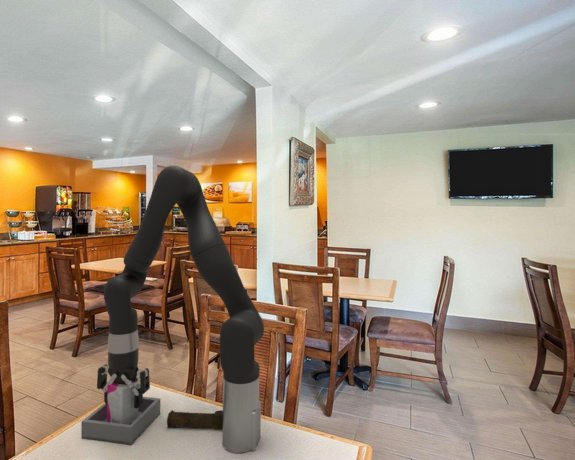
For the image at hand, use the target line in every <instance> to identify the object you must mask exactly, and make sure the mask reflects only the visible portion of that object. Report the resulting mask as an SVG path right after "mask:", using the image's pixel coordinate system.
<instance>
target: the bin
mask: <svg viewBox="0 0 575 460" xmlns="http://www.w3.org/2000/svg"><path fill="white" fill-rule="evenodd" d="M160 415H161V398H160V397H159V398H157V397H152V396H151V397H150V396H149V397H148V396H143V403H142V404H141V405H140V407H138V418H137V419H136V420H135V421H133V422H132V423H131V424H130V425H127V424H119V423H111V422H107V405H106V403H105V402H104V403H103V404H102V405H101V406H99V407H98V408H97V409H95V410H94V411H93V412H92V413H90V414H89V415H88V416H86V417H85V418H84V419H82V420H81V422H80V423H81V424H80V425H81V426H80V427H81V429H80V430H81V431H80V433H81V434H80V435H81V438H80V439H82V440H83V439H84V440H90V441H91V440H92V441H97V442H105V443H106V442H107V443H110V444H111V443H112V444H113V443H114V444H119V445H128V446H132V445H133V444H134V443H135V442H136V441H137V439H139V438H140V436H141V435H142V434H143V433H144V432H145V431H146V430H147V429H148V428H149V427H150V426H151V424H152V423H153V422H154V421H155V420H156V419H157V418H158V416H160Z"/></svg>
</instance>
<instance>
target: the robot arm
mask: <svg viewBox="0 0 575 460" xmlns="http://www.w3.org/2000/svg"><path fill="white" fill-rule="evenodd" d="M157 175H158V176H157V177H156V180H155V183H154V186H153V188H152V191H151V194H150V198H149V200H148V203H147V206H146V209H145V212H144V215H143V217H142V220H141V223H140V224H139V228H138V230H137V232H136V234H135V235H134V237H133V239H132V241H131V243H130V245H129V247H128V248H127V251H126V253H125V255H124V256H123V264H124V267H123V270H122V272H121V273H120V274H119V275H116V276H113V277H110V278H109V279H108V280H107V282H106V283H105V285H104V287H103V298H104V299H103V300H104V303H105V308H106V312H107V314H108V337H107V364H105V363H104V364H103V365H102V366H100V367H98V369H97V375H96V376H97V377H96V378H97V379H96V380H97V381H96V388H97V390H102V392H103V395H104V396H103V398H104V399H103V402H104V403H106V405H107V385H109V384H110V385H111V384H112V383H113V382H114V383H116V384H124V385H127V386H128V387H129V389H131V390H132V391H133V392H134V394H135V395H134V408H138V407H140V405H141V404H142V403H143V397H144V394H146V392H148V391H149V390H150V389H151V383H150V369H149V368H147V367H146V368H144V369H139V367H138V364H139V339H140V338H139V331H138V329H139V327H138V325H139V324H138V323H139V322H138V321H139V320H138V319H139V317H138V311H137V310H136V309H135V308H133V307H132V301H131V299H132V298H134V297H136V296H137V295H138V294H139V293H140V292H141V290H142V288H143V286H144V284H145V282H146V279H147V276H148V273H149V268H150V267H151V266H152V263H153V262H154V260H155V258H156V256H157V255H158V252H159V250H160V248H161V245H162V243H163V239H164V238H163V237H164V234H165V233H164V232H165V228H166V227H165V226H166V222H167V220H168V217H169V215H170V213H171V212H172V210H173V208H174V207H175V206H176V205H177V207H178V209H179V210H180V212H181V214H182V217H183V218H184V220H185V224H186V229H187V238H188V240H187V241H188V247H189V252H190V255H191V258H192V261H193V263H194V264H195V267H196V269H197V271H198V274H199V275H200V277H201V278H202V279H203V281H204V282H205V283H206V284H207V285H208V286H209V287H210V289H212V290H213V291H214V292H215V293H216V294H217V295H218V297H220V299H221V300H222V303H223V304H224V306H225V309H226V312H227V313H228V316H229V317H228V319H226V320H225V321H224V322H223V324H222V326H221V327H220V332H219V360H220V361H219V362H220V369H221V370H222V373H223V374H222V378H223V380H222V383H223V384H222V411H223V430H222V433H221V434H222V435H221V438H222V442H221V443H222V446H223V448H224V449H225V450H226V451H228V452H231V453H235V454H239V453H242V454H243V453H247V452H249V451H252V452H254V451H256V449H257V447H258V445H259V444H258V443H259V441H260V439H261V424H262V423H261V422H262V419H261V418H262V401H261V400H260V373H261V371H260V365H259V363H258V361H256V360H255V345H257V343H258V342H260V341H261V339H262V338H263V336H264V333H265V325H264V321H263V319H262V316H261V315H260V313H259V311H258V309H257V308H256V306H255V305H254V303H253V301H252V299H251V297H250V296H249V294H248V291H247V290H246V289H245V288H246V287H245V286H244V284H243V282H242V279H241V276H240V275H239V272H238V269H237V268H236V265H235V263H234V261H233V258H232V256H231V254H230V251H229V249H228V247H227V245H226V243H225V241H224V239H223V237H222V234H221V233H220V230H219V229H218V226H217V224H216V221H215V220H214V218H213V216H212V214H211V212H210V210H209V206H208V204H207V200H206V198H205V195H204V191H203V188H202V185H201V183H200V180H199V179H198V177H197V176H196V175H195V174H194V173H193V172H191V171H189V170H188V169H185V168H183V167H181V166H178V165H168V166H166V167H164V168H163V169H161V171H160V172H159V173H158V174H157ZM108 375H109V376H110V378H109V379H108ZM133 380H134V381H135V383H134V384H133V383H132V382H133ZM137 388H138V389H137Z"/></svg>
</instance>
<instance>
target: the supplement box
mask: <svg viewBox="0 0 575 460" xmlns="http://www.w3.org/2000/svg"><path fill="white" fill-rule="evenodd" d="M132 383H133V384H134V383H135V381H134V380H133V382H132ZM137 389H138V388H137ZM134 395H135V394H134V392H133V391H132V390H131V389H129V387H128V386H127V385H124V384H116V383H114V382H113V383H112V384H111V385H110V384H109V385H107V422H111V423H119V424H127V425H130V424H131V423H132V422H133V421H135V420H136V419H137V418H138V408H134Z"/></svg>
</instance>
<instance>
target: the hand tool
mask: <svg viewBox="0 0 575 460" xmlns="http://www.w3.org/2000/svg"><path fill="white" fill-rule="evenodd" d="M166 426H167V428H170V427H172V428H173V429H174V428H176V427H188V428H189V427H192V428H213V429H214V431H223V409H222V410H216V411H214V413H211V412H210V413H209V412H207V413H206V412H205V413H204V412H188V411H187V412H186V411H185V412H183V411H175V410H172V409H171V410H170V411H169V412H168V414H167V418H166Z"/></svg>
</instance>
